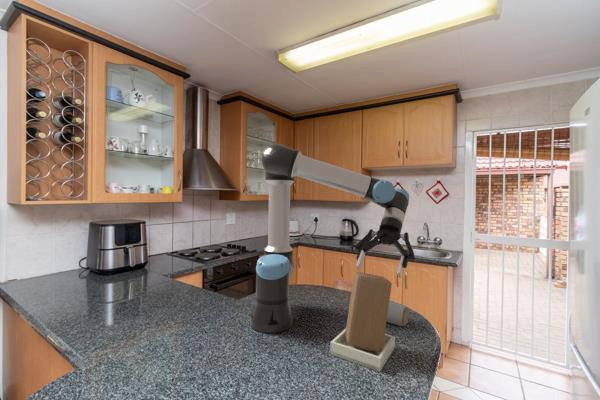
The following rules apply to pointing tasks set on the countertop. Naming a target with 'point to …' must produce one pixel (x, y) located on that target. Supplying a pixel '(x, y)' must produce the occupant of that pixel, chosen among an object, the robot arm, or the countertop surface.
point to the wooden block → (368, 311)
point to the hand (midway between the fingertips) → (377, 271)
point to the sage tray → (362, 352)
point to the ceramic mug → (397, 314)
